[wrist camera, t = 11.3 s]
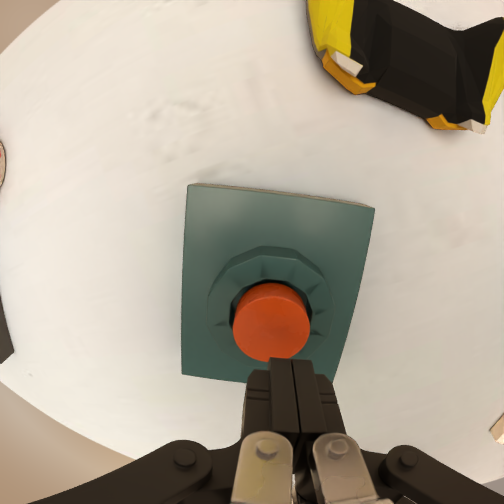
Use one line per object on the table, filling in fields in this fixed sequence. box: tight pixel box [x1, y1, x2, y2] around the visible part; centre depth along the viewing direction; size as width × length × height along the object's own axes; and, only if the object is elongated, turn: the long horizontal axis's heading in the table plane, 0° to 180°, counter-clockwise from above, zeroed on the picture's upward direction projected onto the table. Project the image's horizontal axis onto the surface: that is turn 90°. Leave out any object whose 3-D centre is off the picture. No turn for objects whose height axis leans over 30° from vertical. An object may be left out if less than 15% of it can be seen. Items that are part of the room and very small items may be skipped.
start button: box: [233, 283, 310, 362], centre depth 14 cm, size 4×4×2 cm
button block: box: [181, 183, 375, 383], centre depth 17 cm, size 12×10×4 cm
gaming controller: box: [306, 0, 504, 134], centre depth 12 cm, size 15×6×10 cm
